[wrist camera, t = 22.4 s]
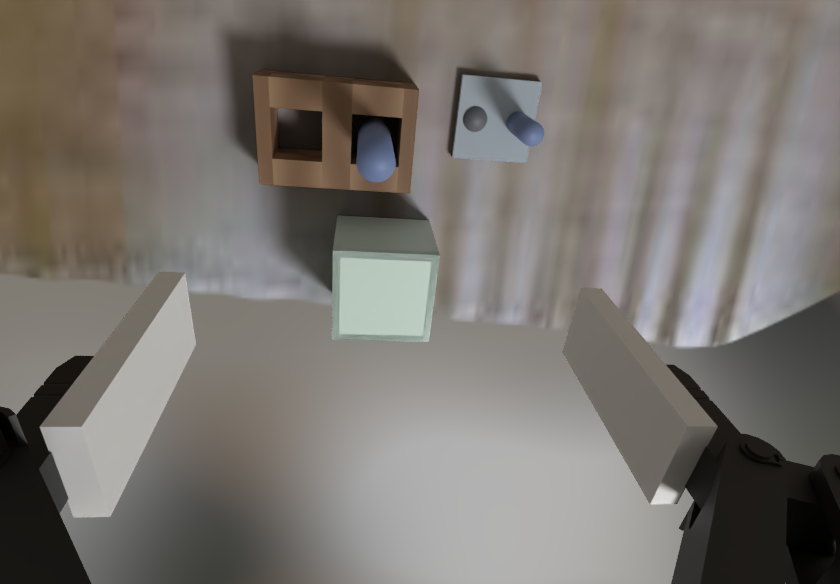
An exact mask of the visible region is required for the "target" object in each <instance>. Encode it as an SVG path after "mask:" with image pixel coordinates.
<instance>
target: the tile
mask: <svg viewBox="0 0 840 584" xmlns="http://www.w3.org/2000/svg"><path fill="white" fill-rule="evenodd" d="M542 83H543V82H541V81H531V80H521V79H510V78H500V77H489V76H478V75H468V74H462V76H461V84H460V92H459V100H458V108H457V116H456V124H455V132H454V139H453V147H452V155H451V156H452V158H463V159H477V160H490V161H504V162H518V163H526V162H527V158H528V153H529V148H530V146H535V145H537V144H539V143H540V142H541V140H542V139H543V136H544V130H543V127H542V126H541V125H540V124H539V123H537V122H536V121H535V118H536V113H537V108H538V103H539V98H540V93H541V88H542Z"/></svg>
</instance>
